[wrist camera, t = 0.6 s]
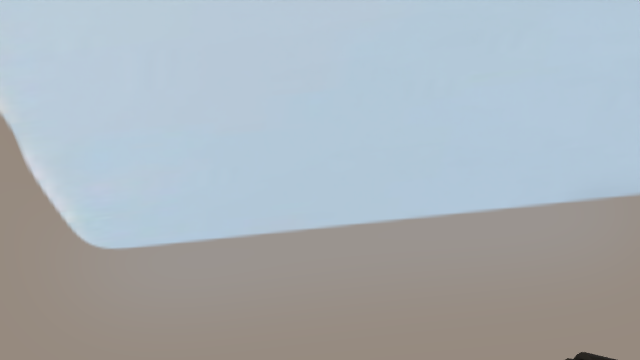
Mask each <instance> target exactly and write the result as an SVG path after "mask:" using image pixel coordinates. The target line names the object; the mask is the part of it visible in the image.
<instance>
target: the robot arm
mask: <svg viewBox="0 0 640 360" xmlns="http://www.w3.org/2000/svg"><path fill="white" fill-rule="evenodd" d="M566 360H616V359H611V358H607V357H603V356H598V355H594V354H590V353H586V352H581V353H579V354H577V355H576V357H575V358H574V359H569V358H567V359H566Z"/></svg>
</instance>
